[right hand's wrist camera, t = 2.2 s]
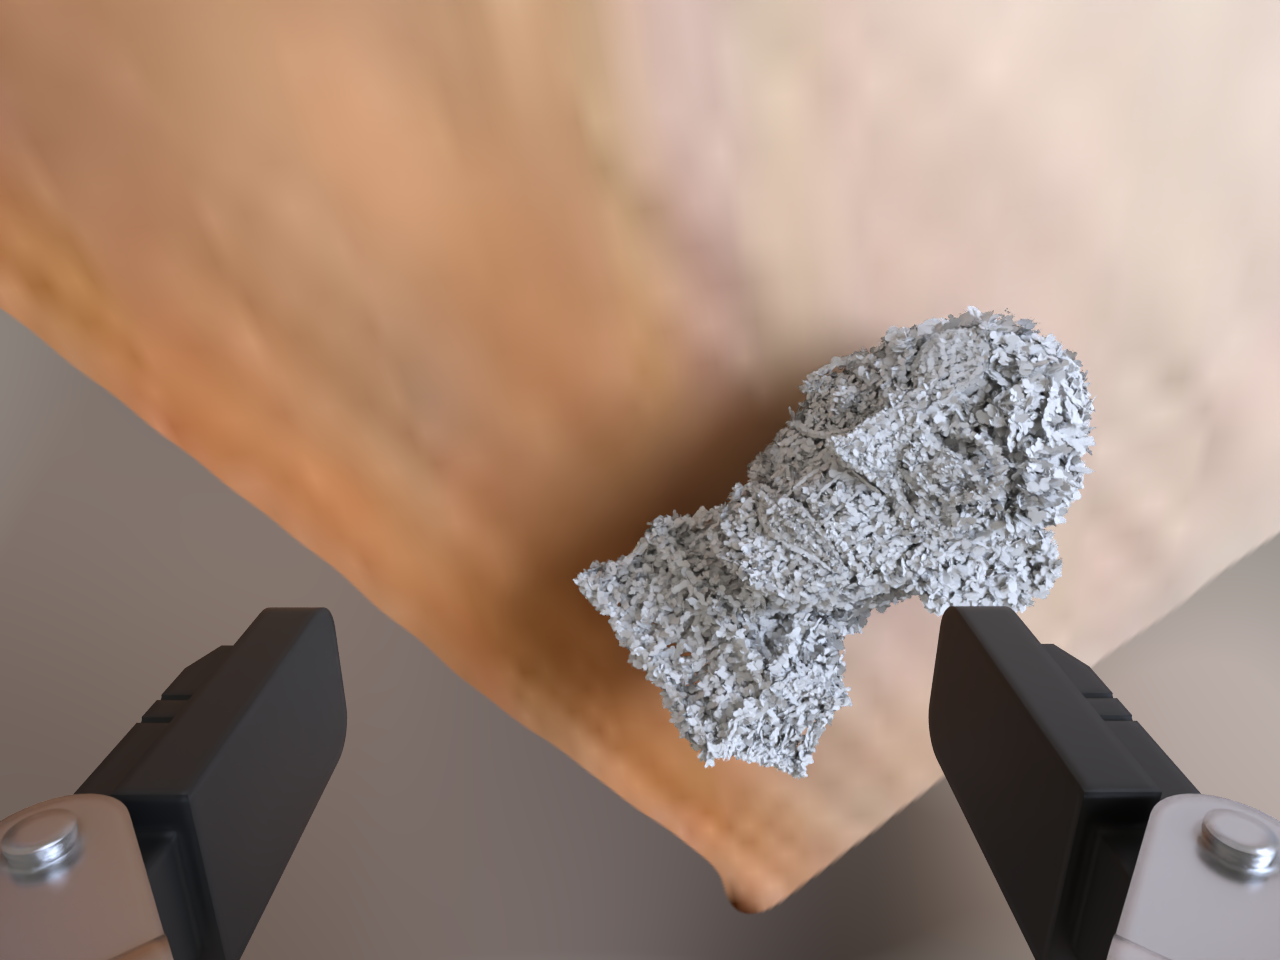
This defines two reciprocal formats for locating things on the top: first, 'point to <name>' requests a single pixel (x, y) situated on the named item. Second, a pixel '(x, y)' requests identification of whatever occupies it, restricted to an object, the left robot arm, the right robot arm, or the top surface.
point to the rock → (855, 529)
